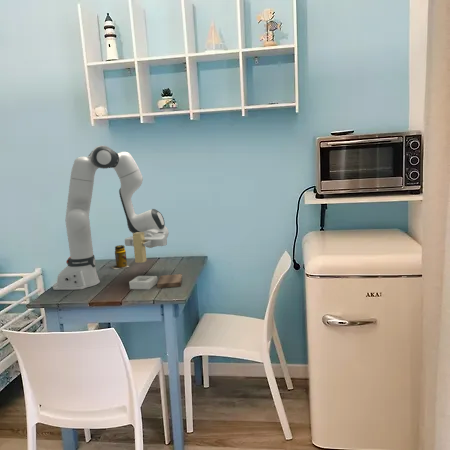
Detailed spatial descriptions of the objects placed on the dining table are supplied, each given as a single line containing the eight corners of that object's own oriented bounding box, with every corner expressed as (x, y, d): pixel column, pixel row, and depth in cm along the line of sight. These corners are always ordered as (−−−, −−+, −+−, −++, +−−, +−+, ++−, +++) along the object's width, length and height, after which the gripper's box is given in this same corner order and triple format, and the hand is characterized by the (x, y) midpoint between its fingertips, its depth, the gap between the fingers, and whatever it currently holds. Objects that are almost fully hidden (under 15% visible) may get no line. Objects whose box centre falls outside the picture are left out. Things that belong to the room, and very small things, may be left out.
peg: (135, 262, 223) (132, 233, 221) (139, 260, 227) (136, 232, 224) (143, 262, 222) (140, 233, 220) (146, 260, 226) (144, 232, 223)
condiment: (129, 266, 266) (127, 246, 264) (115, 269, 261) (113, 248, 259) (124, 264, 272) (122, 244, 270) (110, 267, 267) (108, 246, 265)
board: (157, 288, 222) (157, 284, 221) (160, 279, 236) (160, 275, 235) (180, 286, 222) (180, 282, 222) (182, 277, 236) (181, 274, 235)
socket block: (129, 289, 223) (129, 281, 223) (139, 282, 233) (138, 275, 232) (149, 289, 220) (148, 282, 220) (157, 282, 230) (157, 276, 229)
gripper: (131, 232, 237) (118, 238, 224) (168, 232, 232) (157, 238, 219) (132, 244, 239) (119, 251, 225) (169, 244, 233) (158, 251, 220)
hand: (138, 244), depth 222 cm, fingers closed on peg, 4 cm apart
